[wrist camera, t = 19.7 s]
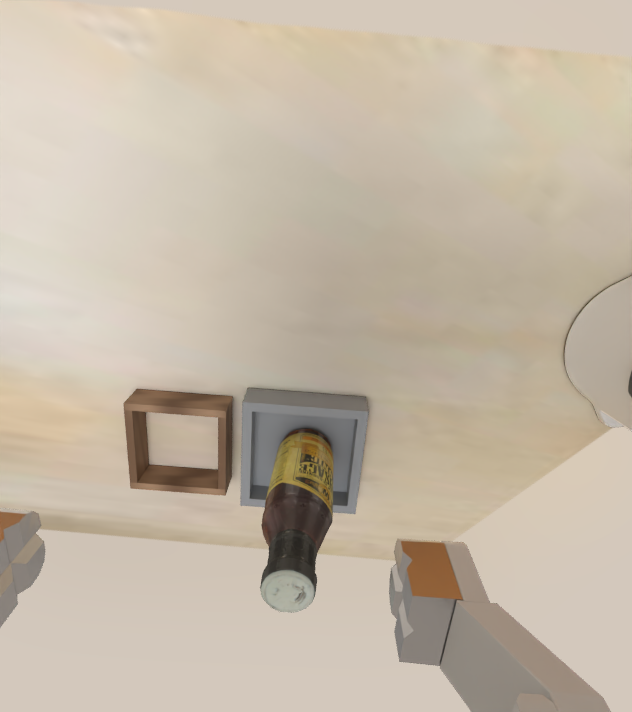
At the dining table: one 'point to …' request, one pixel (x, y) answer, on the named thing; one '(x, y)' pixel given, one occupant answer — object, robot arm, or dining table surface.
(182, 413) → the walnut collar
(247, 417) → the grey tray
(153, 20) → the dining table surface
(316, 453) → the sauce bottle
